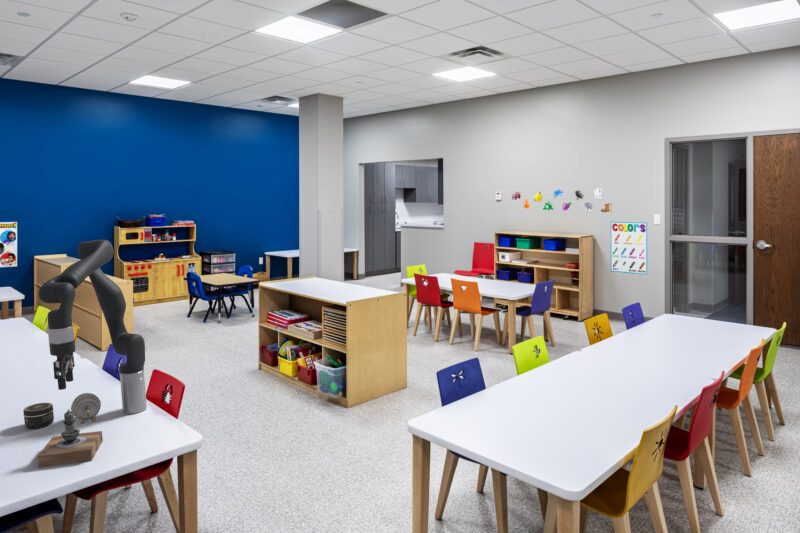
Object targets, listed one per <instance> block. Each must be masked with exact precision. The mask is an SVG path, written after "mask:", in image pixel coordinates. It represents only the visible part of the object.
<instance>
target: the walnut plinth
mask: <svg viewBox="0 0 800 533" xmlns="http://www.w3.org/2000/svg"><path fill="white" fill-rule="evenodd" d="M77 438H79V439H80V441H79V442H78V443H75V444H72V445H63V442H64V441H65V440H64V439H63V437H62V435H56V436H52V437H51V438H50V440H48V442H47V443H46V445H45V446H44V448H42V450H41V451H40V453H38V455H37V466H38V468H46V467H52V466H59V465H66V464H73V463H83V462H89V461H90V462H91V461H93V459H94V458H95V456H96V454H97V452H98V450H99V449H100V446H101V445H102V443H103V441H104V439H103V431H102V430H99V431H98V430H97V431H89V432H82V433H81V432H79V436H78V437H77Z"/></svg>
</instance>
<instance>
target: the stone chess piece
mask: <svg viewBox="0 0 800 533" xmlns="http://www.w3.org/2000/svg"><path fill="white" fill-rule="evenodd" d="M63 416H64V422H63V424H64V431H62V432H61V433H60V436H62V437H63V439H64V440H65V441H64V442H63V445H72V444H75V443H78V442H79V441H80V439H79V438H77V437H78V436H79V433H81V429H79V428H76V423H75V422H76V419H75V416H74V413H73V412H72V411H71V410H70V408H69V409H67V411H66V412H64V415H63Z"/></svg>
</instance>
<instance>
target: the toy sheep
mask: <svg viewBox="0 0 800 533" xmlns="http://www.w3.org/2000/svg"><path fill="white" fill-rule="evenodd" d="M101 403H102V402H101V400H100V398H99V397H98V396H97V395H96V394H94V393H91V392H84V393H80V394H79V395H77V396H76V397H75V398H74V400H73V401H72V403H71V407H70V411H72V412H73V413H74V418H76V419H77V420H80V424H81V425H85V424H86V423H85V422H86V421H89V420H91V419H92V422H93V423H96V421H97V415H98V414H99V413H100V411H101V406H102V404H101Z"/></svg>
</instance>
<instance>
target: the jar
mask: <svg viewBox="0 0 800 533" xmlns="http://www.w3.org/2000/svg"><path fill="white" fill-rule="evenodd" d="M22 416H23V420H24V426H25V428H27V429H28V430H39V429H43V428H47V427H49V426H51V425H52V424H53V423H54V419H55V414H54V405H53V403H51V402H40V403H39V402H38V403H33V404H31V405H28V406H26V407H24V408H23V415H22Z"/></svg>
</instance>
